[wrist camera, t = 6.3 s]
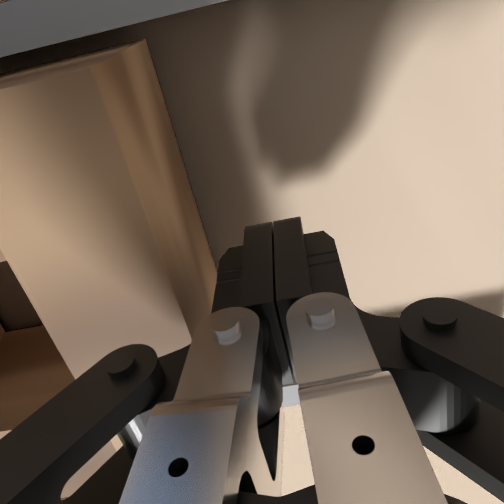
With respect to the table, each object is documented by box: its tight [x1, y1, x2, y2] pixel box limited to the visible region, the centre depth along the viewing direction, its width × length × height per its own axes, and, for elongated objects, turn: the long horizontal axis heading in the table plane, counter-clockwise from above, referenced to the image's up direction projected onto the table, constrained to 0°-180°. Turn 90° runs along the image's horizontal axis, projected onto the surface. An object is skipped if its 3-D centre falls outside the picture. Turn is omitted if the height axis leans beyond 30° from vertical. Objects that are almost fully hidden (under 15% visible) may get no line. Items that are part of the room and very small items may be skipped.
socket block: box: [0, 39, 217, 498], centre depth 13 cm, size 11×11×4 cm
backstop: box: [0, 0, 300, 407], centre depth 12 cm, size 18×22×6 cm
